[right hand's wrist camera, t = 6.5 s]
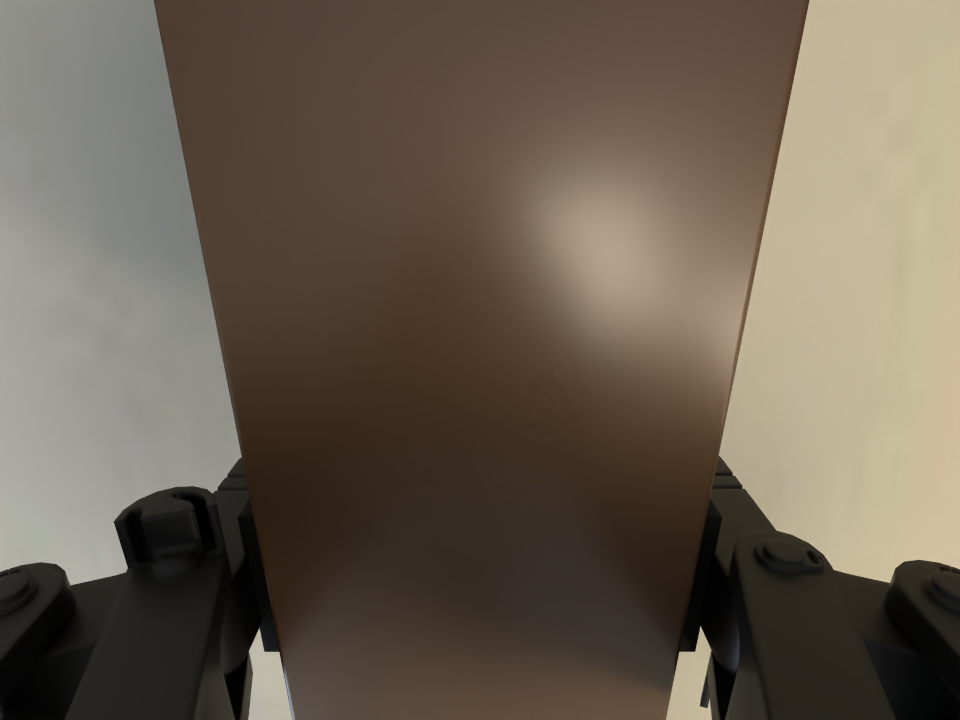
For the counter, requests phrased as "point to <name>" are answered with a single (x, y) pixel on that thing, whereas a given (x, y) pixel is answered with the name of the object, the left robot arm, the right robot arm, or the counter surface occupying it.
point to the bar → (480, 327)
